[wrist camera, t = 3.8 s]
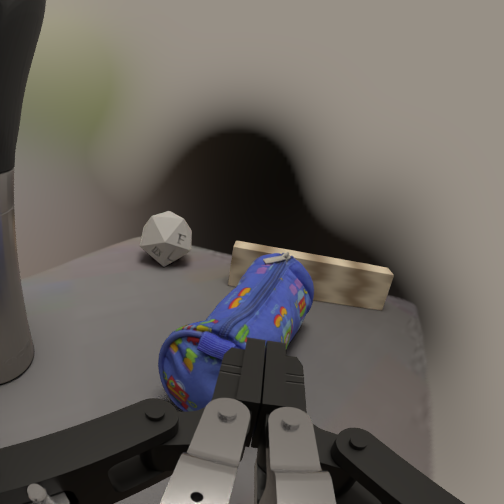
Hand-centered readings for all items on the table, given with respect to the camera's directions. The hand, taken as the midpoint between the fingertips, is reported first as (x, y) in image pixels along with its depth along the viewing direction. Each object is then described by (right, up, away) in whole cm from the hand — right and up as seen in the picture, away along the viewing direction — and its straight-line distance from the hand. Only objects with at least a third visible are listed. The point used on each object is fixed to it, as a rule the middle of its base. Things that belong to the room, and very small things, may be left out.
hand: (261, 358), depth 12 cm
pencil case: (-1, -7, +20) cm, 21 cm away
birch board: (+8, -2, +36) cm, 37 cm away
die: (-15, +3, +40) cm, 43 cm away
